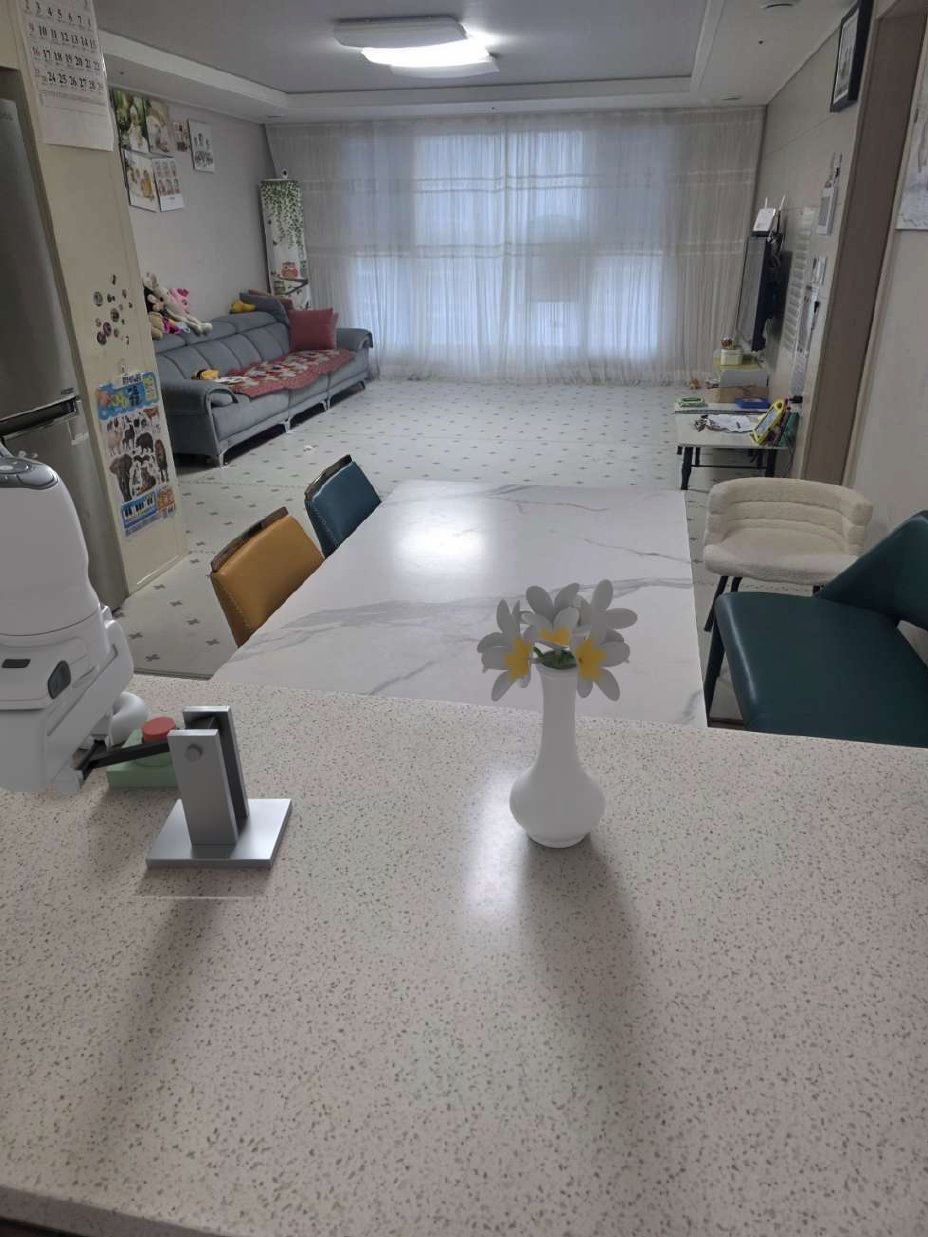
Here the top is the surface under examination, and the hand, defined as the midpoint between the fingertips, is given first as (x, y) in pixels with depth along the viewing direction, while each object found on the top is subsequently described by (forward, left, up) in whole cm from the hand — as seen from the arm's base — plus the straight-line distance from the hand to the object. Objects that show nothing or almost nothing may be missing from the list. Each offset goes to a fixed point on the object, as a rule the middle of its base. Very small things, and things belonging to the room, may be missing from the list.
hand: (88, 770), depth 79 cm
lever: (+7, 0, +1) cm, 7 cm away
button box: (+2, +12, -8) cm, 15 cm away
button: (+2, +12, -5) cm, 13 cm away
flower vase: (+45, +2, -9) cm, 46 cm away
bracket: (+12, 0, -8) cm, 14 cm away
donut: (-8, +19, -9) cm, 22 cm away
